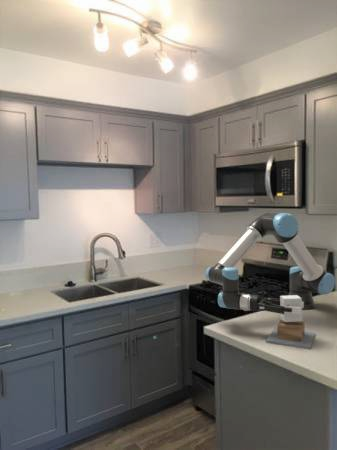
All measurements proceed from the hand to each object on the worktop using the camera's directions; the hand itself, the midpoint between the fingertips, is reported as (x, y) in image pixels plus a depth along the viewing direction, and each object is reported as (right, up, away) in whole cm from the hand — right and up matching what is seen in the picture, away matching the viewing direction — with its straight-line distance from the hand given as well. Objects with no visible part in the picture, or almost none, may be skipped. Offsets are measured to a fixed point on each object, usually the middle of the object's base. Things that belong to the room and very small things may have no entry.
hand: (301, 307), depth 166 cm
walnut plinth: (-4, -14, +3) cm, 15 cm away
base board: (-4, -14, +3) cm, 15 cm away
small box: (-4, -6, +3) cm, 8 cm away
